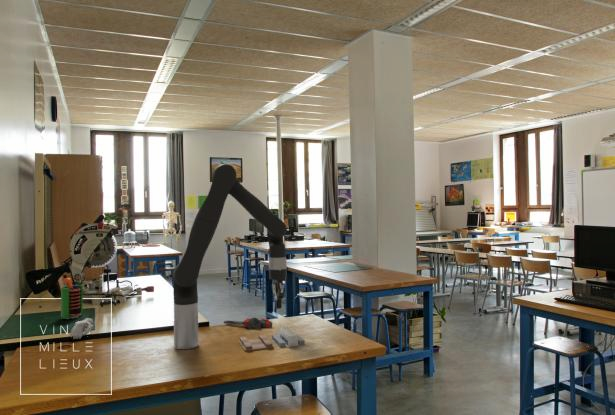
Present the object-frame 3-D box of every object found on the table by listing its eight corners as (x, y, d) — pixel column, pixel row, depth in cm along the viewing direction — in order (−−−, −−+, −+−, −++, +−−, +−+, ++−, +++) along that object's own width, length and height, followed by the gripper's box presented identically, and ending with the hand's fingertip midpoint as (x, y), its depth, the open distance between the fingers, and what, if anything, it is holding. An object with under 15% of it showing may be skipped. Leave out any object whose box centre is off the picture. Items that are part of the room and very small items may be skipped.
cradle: (273, 352, 170) (273, 343, 170) (245, 355, 167) (245, 347, 167) (265, 342, 183) (265, 334, 183) (238, 345, 179) (238, 337, 179)
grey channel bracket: (305, 347, 175) (305, 340, 175) (278, 351, 171) (278, 343, 171) (296, 339, 186) (296, 332, 186) (270, 342, 183) (270, 334, 183)
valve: (283, 330, 208) (265, 333, 195) (237, 326, 220) (217, 329, 207) (283, 316, 209) (265, 318, 196) (238, 313, 221) (218, 315, 208)
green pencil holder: (74, 320, 222) (74, 279, 222) (56, 320, 222) (56, 279, 222) (85, 315, 232) (84, 276, 232) (67, 315, 232) (67, 276, 232)
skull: (62, 334, 187) (75, 310, 196) (73, 346, 193) (85, 321, 202) (79, 334, 186) (91, 309, 195) (89, 345, 192) (101, 321, 201)
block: (298, 345, 173) (297, 335, 173) (288, 346, 172) (288, 336, 172) (287, 335, 186) (287, 326, 186) (278, 336, 185) (278, 327, 185)
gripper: (265, 266, 197) (266, 305, 197) (273, 270, 184) (274, 312, 184) (281, 265, 199) (282, 304, 199) (290, 269, 187) (291, 310, 187)
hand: (278, 308), depth 192 cm, fingers closed
